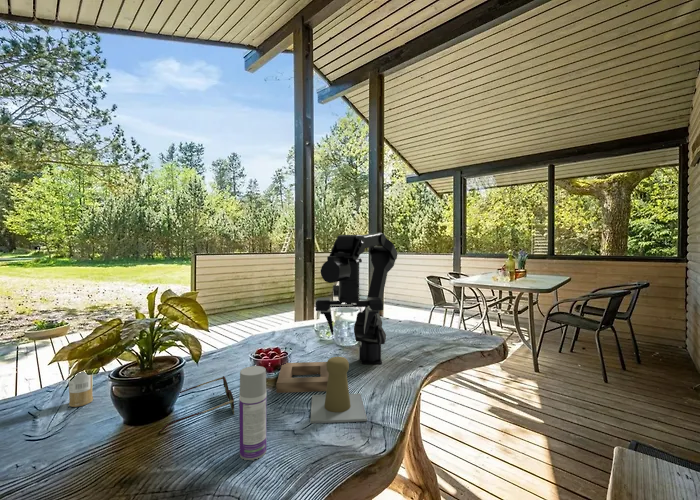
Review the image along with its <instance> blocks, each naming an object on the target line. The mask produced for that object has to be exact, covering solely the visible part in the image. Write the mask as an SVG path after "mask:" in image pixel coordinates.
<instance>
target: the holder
mask: <svg viewBox="0 0 700 500" xmlns="http://www.w3.org/2000/svg"><path fill="white" fill-rule="evenodd" d="M285 363H286V364H284V365H281V367H280V370H279V374H278V378H277V380H276V384H275V385H276V390H275V391H276V393H277V394H281V393H311V392H326V390H327V383H328V375H329V373H328V371H327V368H326V364H327V361H312V362H311V361H309V362H307V361H306V362H285ZM308 375H309V376H308ZM312 375H313V376H312ZM314 375H315V376H314ZM316 375H317V376H316ZM318 375H320V376H318ZM293 376H304V377H293ZM306 376H307V377H306ZM311 376H312V377H311Z"/></svg>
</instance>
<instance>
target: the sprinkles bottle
mask: <svg viewBox="0 0 700 500" xmlns="http://www.w3.org/2000/svg"><path fill="white" fill-rule="evenodd" d="M69 374H70V367H69V366H68V375H69ZM93 382H94V381H93V374H92V375H87V374H86V373H85V372H81V373H78V374H77V375H76V376H75V377H74V378H73V379H72V380H71V381H69V380H68V393H69V394H68V395H69V399H68V400H69V401H68V406H69V407H73V408H79V407H83V406H86V405H89V404H91V403H93V400H94V396H93V386H94V385H93Z"/></svg>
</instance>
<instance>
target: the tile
mask: <svg viewBox="0 0 700 500" xmlns="http://www.w3.org/2000/svg"><path fill="white" fill-rule="evenodd" d="M349 397H350V405H351V407H350V409H348V410H347V411H344V412H331V411H328V410H326V409H325V398H326V394H312V395H311V409H310V424H325V423H326V424H328V423H329V424H330V423H333V424H334V423H351V422H352V423H353V422H354V423H355V422H368V417H367V414H366V413H367V412H366V409H365V404H364V401H363V398H362V394H361V393H360V392H359V393H349Z"/></svg>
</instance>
